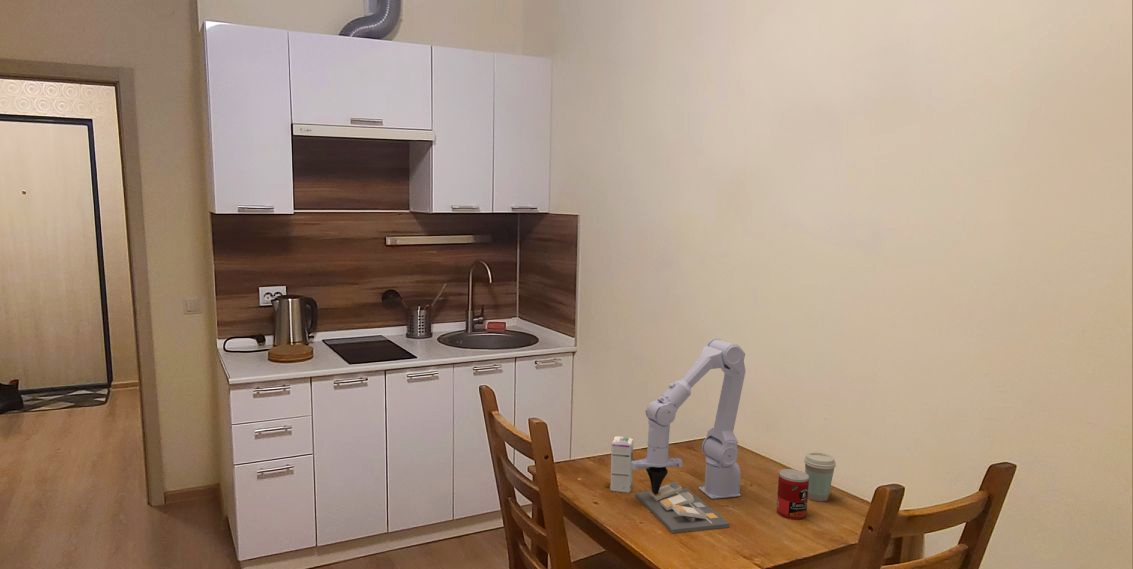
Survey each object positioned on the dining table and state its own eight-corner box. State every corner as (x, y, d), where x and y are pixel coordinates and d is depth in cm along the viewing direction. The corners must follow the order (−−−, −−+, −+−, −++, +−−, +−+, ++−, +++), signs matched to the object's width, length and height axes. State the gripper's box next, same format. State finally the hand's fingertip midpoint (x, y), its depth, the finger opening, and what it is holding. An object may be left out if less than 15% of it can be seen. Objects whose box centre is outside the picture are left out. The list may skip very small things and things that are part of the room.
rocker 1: (676, 484, 203) (675, 480, 203) (682, 490, 199) (681, 486, 199) (650, 495, 201) (649, 491, 201) (656, 501, 197) (655, 497, 197)
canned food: (791, 521, 190) (794, 481, 188) (769, 510, 197) (772, 471, 195) (812, 517, 193) (815, 477, 192) (790, 505, 200) (793, 467, 199)
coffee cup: (837, 497, 207) (841, 457, 206) (825, 506, 201) (828, 464, 199) (809, 489, 213) (812, 449, 211) (796, 497, 206) (799, 456, 205)
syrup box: (629, 493, 205) (632, 443, 203) (609, 490, 206) (611, 441, 204) (632, 485, 210) (634, 437, 209) (612, 483, 211) (614, 435, 210)
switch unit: (687, 491, 208) (687, 484, 207) (729, 527, 185) (729, 519, 185) (635, 495, 203) (635, 488, 203) (672, 533, 180) (672, 525, 180)
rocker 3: (698, 512, 190) (699, 508, 190) (706, 518, 186) (707, 514, 186) (672, 508, 187) (673, 504, 187) (678, 514, 184) (680, 510, 184)
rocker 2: (687, 495, 196) (686, 491, 196) (694, 501, 193) (693, 497, 192) (660, 504, 194) (660, 500, 194) (667, 510, 190) (666, 506, 190)
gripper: (675, 439, 204) (672, 485, 205) (627, 441, 199) (625, 489, 201) (687, 447, 197) (683, 495, 198) (637, 450, 193) (634, 499, 194)
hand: (655, 493), depth 199 cm, fingers closed, pressing on rocker 1
